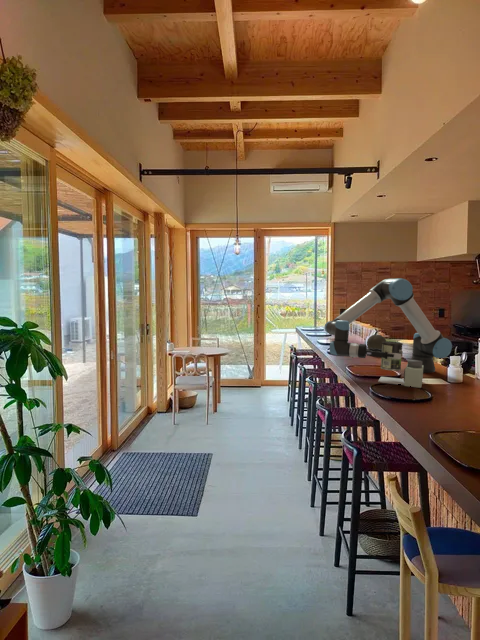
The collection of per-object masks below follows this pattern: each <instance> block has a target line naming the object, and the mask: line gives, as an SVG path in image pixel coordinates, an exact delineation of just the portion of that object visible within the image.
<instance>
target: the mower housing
mask: <svg viewBox="0 0 480 640" xmlns="http://www.w3.org/2000/svg"><path fill="white" fill-rule="evenodd" d="M423 366H424V365H422V361H419V360H411V359H408V360H407V364H406V366H405V368H404V371H403V372H404V373H403V378H398V377H387V376H380V378H379V379H378V381H377V382H378V383H381V384H390V385H398V384H401V385H400V386H404V387H410V386H411V387H412V388H419V389H421V388H422V385H423V377H424V372H423Z"/></svg>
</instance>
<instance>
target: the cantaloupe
mask: <svg viewBox="0 0 480 640" xmlns="http://www.w3.org/2000/svg"><path fill="white" fill-rule="evenodd" d="M384 341H387V339H386V338H385V336H382V335H381V334H372V335H370V336H369V337H368V339H367V340H366V345H367V349H369V348H377V349H382V342H384Z"/></svg>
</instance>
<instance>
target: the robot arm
mask: <svg viewBox="0 0 480 640" xmlns="http://www.w3.org/2000/svg"><path fill="white" fill-rule="evenodd" d="M413 290H414V288H413V285H412V284H411V282H410V281H409V280H407V279H406V278H401V277H400V278H399V277H398V278H392V277H391V278H385V279H383V280H381V281H380V282H378V283H376V285H375V286H373V287H371V288H370V289H369V290H368V293H367V294H366V295H364V296H363V297H362V298H360V299H359V300H358V301H356V302H355V303H353V304H352V305H351V306H350V307H349V308H347V309H346V310H344V311H343V312H342V313H341V314H339V315H338V316H337V317H336V318H334V319H333V320H330V321H329V320H328V321H327V322H325V323H324V330H325V332H326V333H327V334H328V335H331V336H334V339H333V341H332V340H331V341H330V343H329V354H330V355H333V356H334V355H335V356H342V357H348V358H349V357H351V358H352V359H354V358H359V359H365V358H366V357H368V356H369V357H377V358H381V357H382V358H385V359H387V358H395V359H401V360H402V357H401V354H399V353H389V352H388V354H387V352H382V349H377V348H369V349H368V347H367V343H366V344H365V343H355V342H349V334H350V333H349V331H350V324H352V323H353V322H354V321H356V320H357V319H358V318H359V317H360V316H362V315H364V314H365V313H366V312H367V311H369V310H370V309H372V308H373V307H374V306H375V305H376V304H380V303H382V302H384V301H386V300H388V299H389V300H391V301H392V303H393V305H395V307H399V308H400V309H401V311H402V312H403V314H404V316H406V317H407V319H408V321H409V322H410V324H411V325H412V326H413V328H414V329H415V331H416V332H415V333H414V334H413V337H412V352H411V353H412V355H411V359H410V360H419V361H422V365H424V366H423V374H424V373H426V374H429V373H436V366H435V363H434V358H436V359H444V358H447V357H448V356H449V355H450V354H451V352H452V348H453V344H452V341H451V340H450V339H448V337H447V338H446V337H444V336H443V334H442V333H441V331H440V330H437V329H435V328H434V326H433V325H432V323H431V322H430V320H429V319H428V318H427V315H425V313H424V312H423V311H422V308H421V307H420V306H419V305H418V303H417V302H416V300H415V299H414V296H415V293H414V292H413ZM403 355H404V352H403V350H402V356H403Z"/></svg>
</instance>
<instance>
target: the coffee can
mask: <svg viewBox="0 0 480 640" xmlns="http://www.w3.org/2000/svg"><path fill="white" fill-rule="evenodd" d="M403 345H404V343H402V342H400V341H390V340H388V341H387V340H386V341H384V342H382V352H387V354H388V352H389V353H399V354H401V359H395V358H387V359H385V358H382V357H380V358H381V359H380V369H381V370H386V371H391V372H394V371H395V372H397V371H401V367H402V357H403V355H402V351H403Z"/></svg>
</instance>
